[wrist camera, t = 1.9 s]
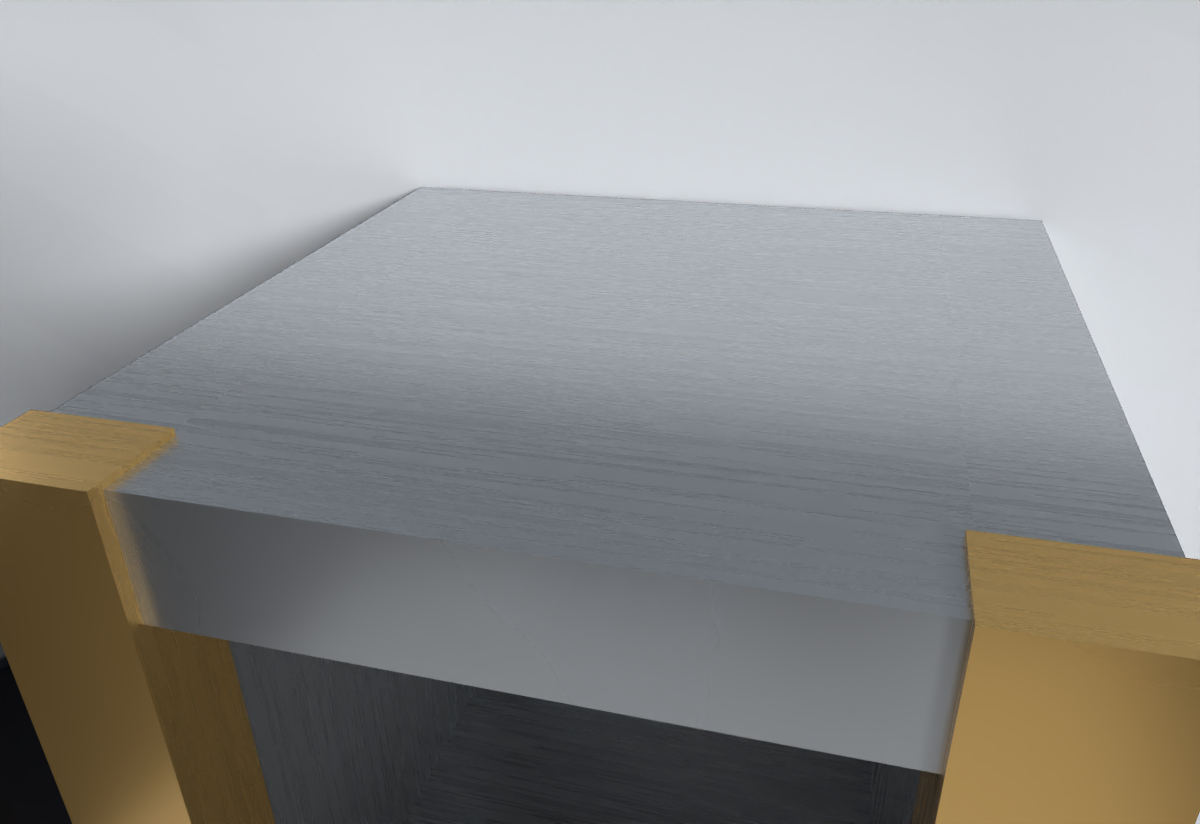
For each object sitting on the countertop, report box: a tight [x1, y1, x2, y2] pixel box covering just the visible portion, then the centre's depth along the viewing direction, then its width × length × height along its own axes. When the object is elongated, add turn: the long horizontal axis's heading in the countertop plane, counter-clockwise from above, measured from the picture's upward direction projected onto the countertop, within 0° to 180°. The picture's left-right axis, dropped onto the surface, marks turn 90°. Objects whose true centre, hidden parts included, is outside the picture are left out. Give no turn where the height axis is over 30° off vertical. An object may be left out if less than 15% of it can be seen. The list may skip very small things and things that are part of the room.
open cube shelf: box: [0, 187, 1200, 824], centre depth 9 cm, size 6×6×6 cm
